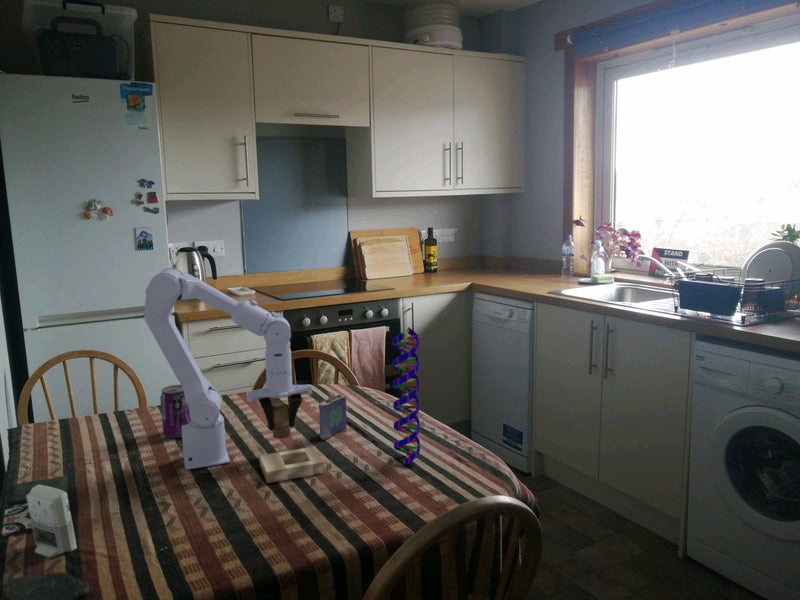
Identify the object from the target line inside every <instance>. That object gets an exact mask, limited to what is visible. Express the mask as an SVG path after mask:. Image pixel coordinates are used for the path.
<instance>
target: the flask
mask: <svg viewBox="0 0 800 600" xmlns="http://www.w3.org/2000/svg"><path fill="white" fill-rule="evenodd" d="M326 395H328V398H327V399H326V400H324V401H321V402H320V403H319V405H318V410H319V411H318V412H319V414H318V416H319V437H320V440H323V441H325V440H330V439H332V438H334V437H335V436H338V434H341V433H343V432H346V431H347V430H348V429H347V416H348V415H347V396H346V395H344V394H339V393H338V394H336V395H335V393H334V392H332V391H328V393H327V394H326Z"/></svg>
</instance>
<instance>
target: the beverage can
mask: <svg viewBox="0 0 800 600" xmlns="http://www.w3.org/2000/svg"><path fill="white" fill-rule="evenodd" d="M159 400H160V401H159V402H160V410H161V422H162V423H161V425H162V434H163V436H165V437H168V438H171V439H181V438H182V426H183V425H187V424H189V423H190V421H191V419H190V416H189V407H188V404H187V403H186V400H185V395H184V390H183V388H182V386H181V384H174V385H173V384H171V385H167V386H165V387H163V388H162V389H161V395H160V398H159Z"/></svg>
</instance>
